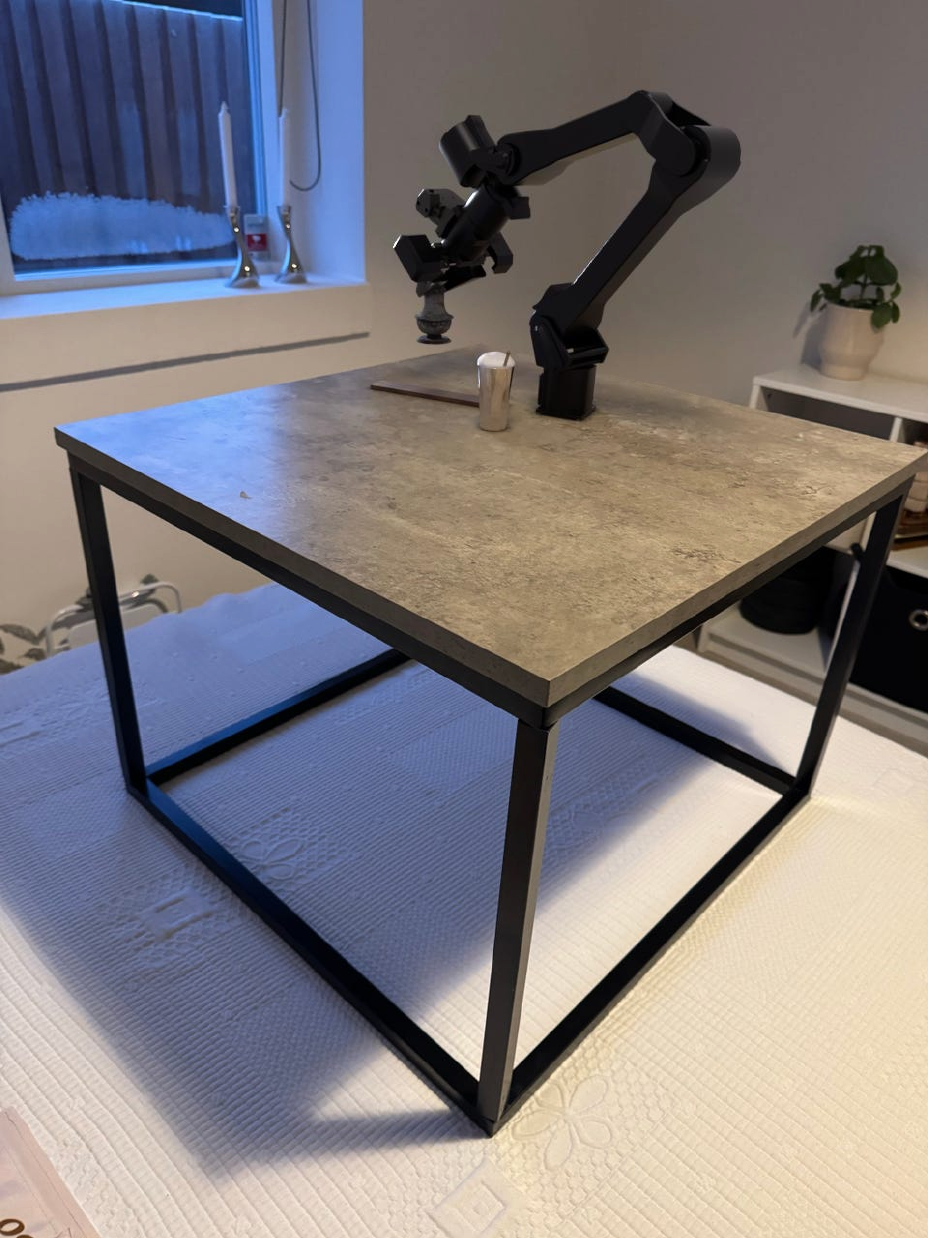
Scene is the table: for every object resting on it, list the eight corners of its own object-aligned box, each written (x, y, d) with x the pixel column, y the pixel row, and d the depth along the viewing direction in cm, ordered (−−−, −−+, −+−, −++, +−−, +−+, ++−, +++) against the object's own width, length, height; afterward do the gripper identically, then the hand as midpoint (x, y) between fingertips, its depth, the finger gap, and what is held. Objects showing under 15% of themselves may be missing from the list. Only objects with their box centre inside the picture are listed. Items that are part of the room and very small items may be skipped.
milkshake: (487, 436, 105) (491, 352, 100) (469, 423, 109) (472, 342, 104) (520, 432, 106) (525, 349, 101) (501, 420, 110) (505, 340, 105)
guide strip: (507, 404, 117) (507, 400, 117) (497, 410, 114) (498, 405, 114) (381, 383, 124) (381, 379, 124) (370, 388, 122) (370, 384, 122)
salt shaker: (408, 343, 127) (408, 255, 121) (421, 335, 132) (421, 251, 126) (446, 346, 126) (448, 258, 120) (458, 338, 131) (459, 253, 125)
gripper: (502, 166, 121) (448, 244, 133) (401, 166, 109) (352, 251, 121) (541, 232, 120) (482, 304, 132) (443, 239, 108) (388, 317, 120)
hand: (427, 293), depth 126 cm, fingers closed on salt shaker, 3 cm apart
